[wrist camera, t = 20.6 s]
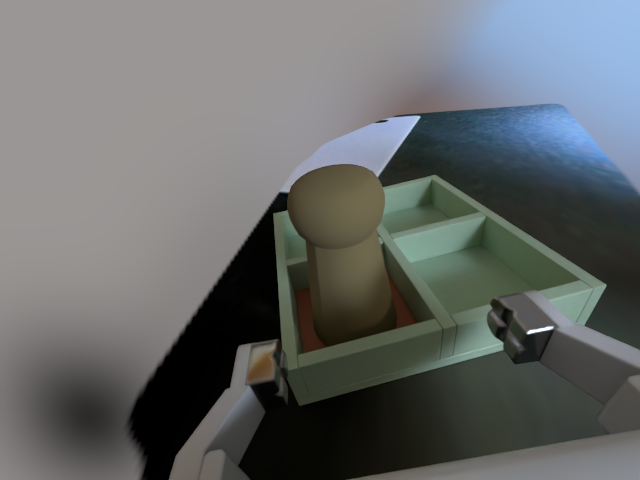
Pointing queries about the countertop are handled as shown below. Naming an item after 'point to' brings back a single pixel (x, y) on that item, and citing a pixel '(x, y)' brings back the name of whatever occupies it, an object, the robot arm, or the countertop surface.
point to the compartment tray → (423, 290)
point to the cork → (343, 251)
